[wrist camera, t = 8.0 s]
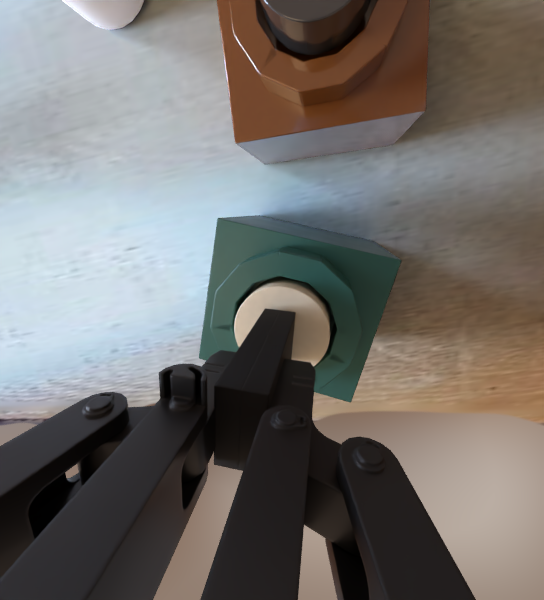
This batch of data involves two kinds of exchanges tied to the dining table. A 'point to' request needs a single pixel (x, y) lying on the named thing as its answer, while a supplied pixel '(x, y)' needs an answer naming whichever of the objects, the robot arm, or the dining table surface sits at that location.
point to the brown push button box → (325, 82)
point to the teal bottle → (307, 268)
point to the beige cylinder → (294, 298)
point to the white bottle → (107, 11)
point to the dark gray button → (313, 22)
